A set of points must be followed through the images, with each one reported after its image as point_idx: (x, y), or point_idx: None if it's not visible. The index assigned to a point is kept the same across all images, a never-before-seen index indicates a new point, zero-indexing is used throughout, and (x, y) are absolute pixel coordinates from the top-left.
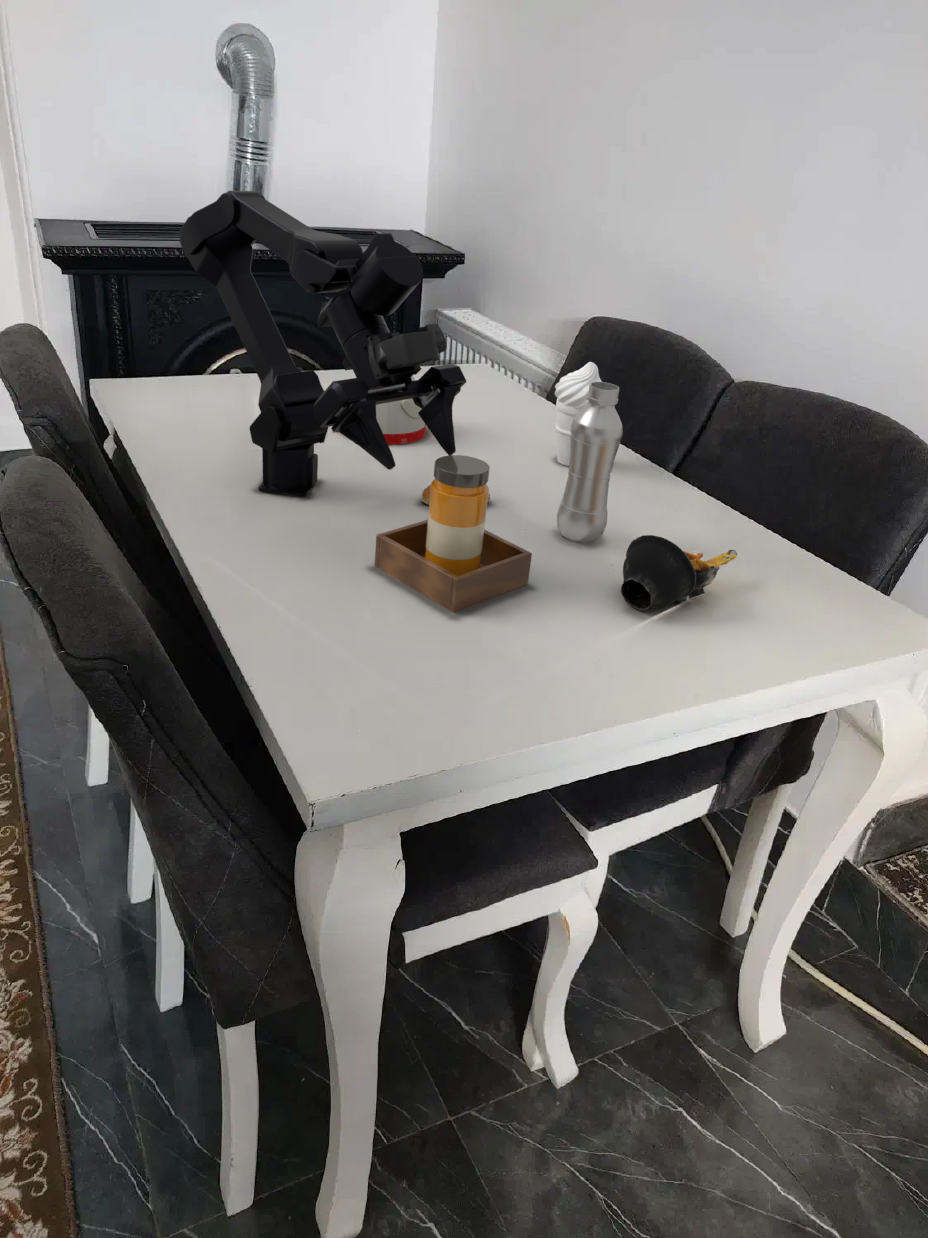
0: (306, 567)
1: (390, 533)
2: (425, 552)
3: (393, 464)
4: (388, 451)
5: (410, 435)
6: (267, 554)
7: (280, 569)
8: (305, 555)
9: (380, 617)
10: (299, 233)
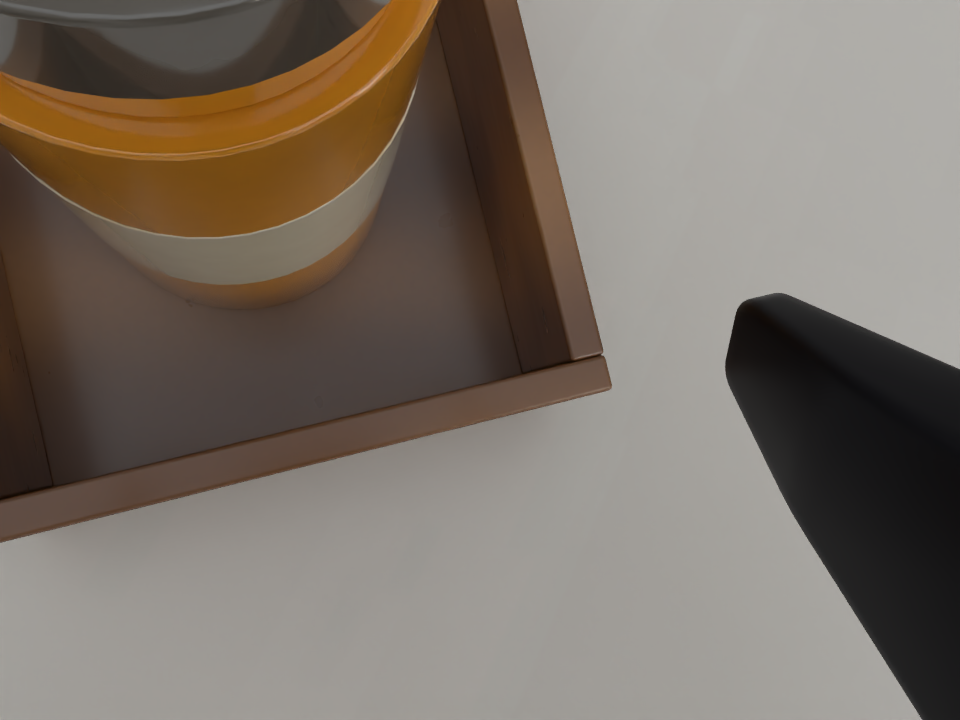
0: None
1: (528, 374)
2: (380, 197)
3: (773, 298)
4: (892, 371)
5: None
6: None
7: None
8: (788, 636)
9: (705, 3)
10: None
